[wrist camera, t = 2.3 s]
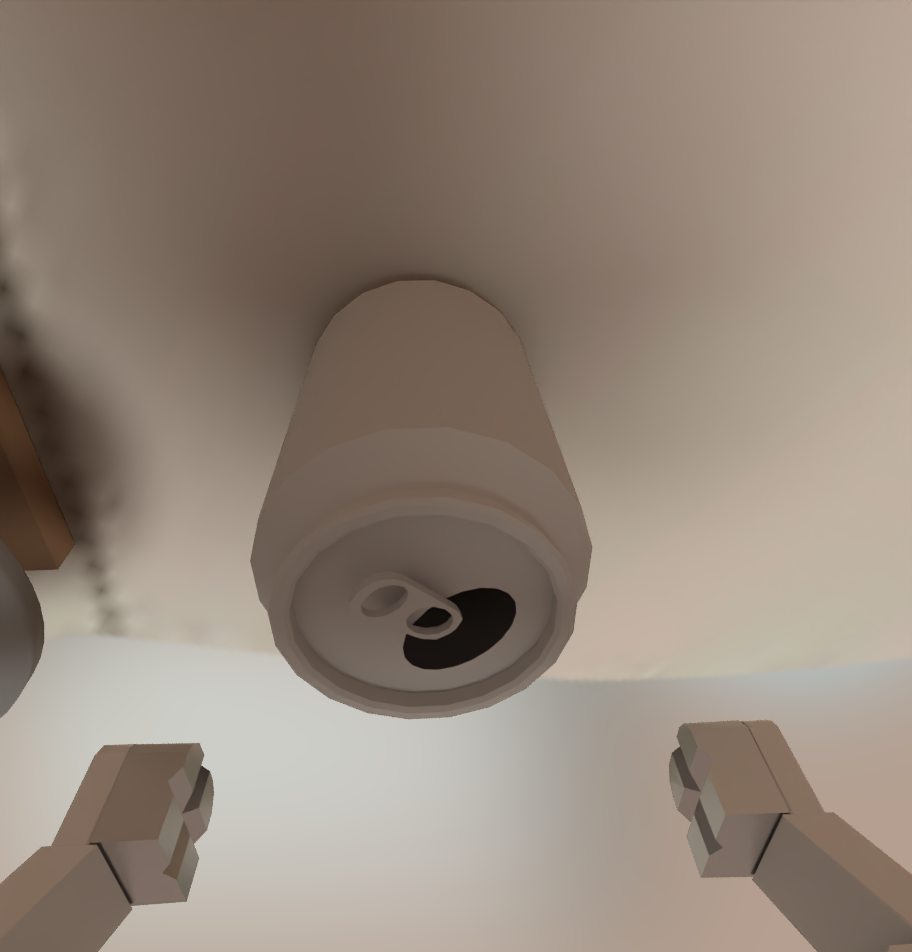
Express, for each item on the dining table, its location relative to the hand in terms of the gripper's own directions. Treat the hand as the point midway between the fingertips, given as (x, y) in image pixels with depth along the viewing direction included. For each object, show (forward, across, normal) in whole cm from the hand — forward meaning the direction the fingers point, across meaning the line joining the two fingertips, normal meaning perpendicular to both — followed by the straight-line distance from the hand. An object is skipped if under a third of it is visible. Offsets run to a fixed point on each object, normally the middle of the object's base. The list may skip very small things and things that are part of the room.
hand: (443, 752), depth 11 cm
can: (+15, 0, -1) cm, 15 cm away
